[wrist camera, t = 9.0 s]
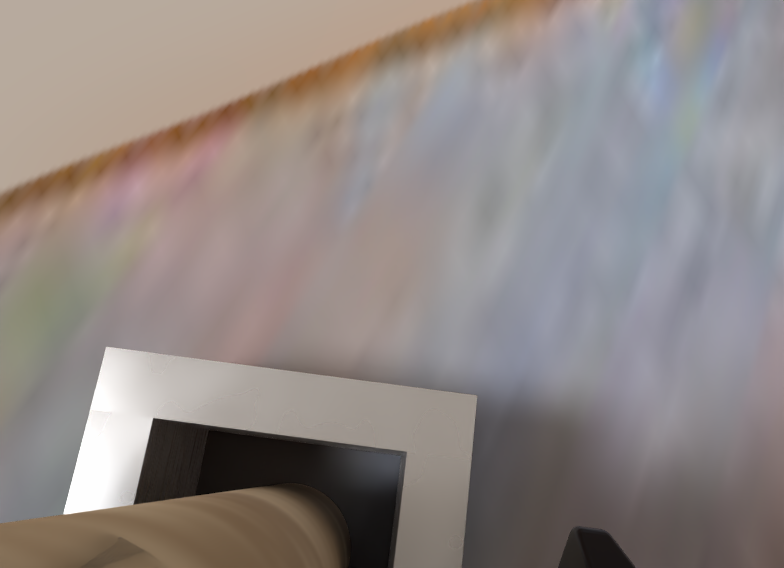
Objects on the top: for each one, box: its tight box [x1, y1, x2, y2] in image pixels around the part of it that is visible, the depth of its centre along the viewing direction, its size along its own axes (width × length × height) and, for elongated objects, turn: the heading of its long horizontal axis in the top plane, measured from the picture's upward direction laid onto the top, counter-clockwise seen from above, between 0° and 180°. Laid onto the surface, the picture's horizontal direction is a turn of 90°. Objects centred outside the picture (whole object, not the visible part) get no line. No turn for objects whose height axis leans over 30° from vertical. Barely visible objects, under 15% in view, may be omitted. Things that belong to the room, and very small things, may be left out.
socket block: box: [63, 347, 477, 568], centre depth 13 cm, size 7×7×4 cm
